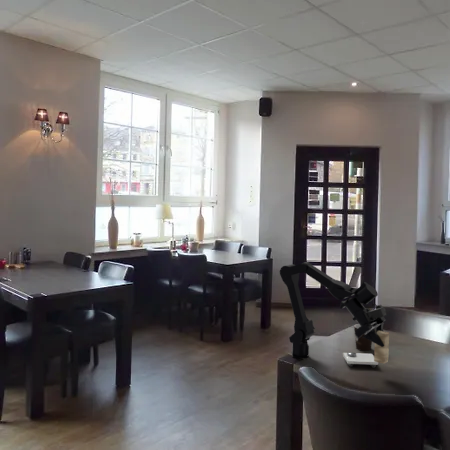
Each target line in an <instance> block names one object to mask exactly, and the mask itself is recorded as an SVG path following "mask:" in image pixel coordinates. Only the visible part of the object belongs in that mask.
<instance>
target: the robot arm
mask: <svg viewBox="0 0 450 450" xmlns="http://www.w3.org/2000/svg"><path fill="white" fill-rule="evenodd" d="M301 273H304V274H306V275H307V276H309V277H310V278H312V279H313V280H314V281H316V282H318V283H319V284H320V285H322V287H323V286H324V287H325V288H326V289H327V291H328V292H329V294H330V295H332V296H333V298H335V300H338V301H340V300H341V301H340V306H339V308H340V310H342V309H344V308H346V310H347V311H348V312H349V313H350V315H352V317H353V318H352V320H353V321H356V322H357V323H358V324H360V326H361V327H359V328H358V329H357V330H355V331H354V336H355V335H356V337H357V338H359V337H361V336H362V335H363V334H365V335H364V336H363V338H366V339H368V340H370V341H372V343H374V344H375V343H376V344H377V345H379V346H381V347H383V346H384V344H383V342H382V340H381V339H380V337H379V336H378V334H377V331H383V332H385V331H384V329H383V328H384V324H385V323H384V322H385V321H387V319H386V318H385V316H387V312H386V311H387V309H386V308H385V307H384V306H383V305H381V304H378V305H376V306H375V308H374V309H372V310H370V308H369V307H365V306H364V305H368V304H369V303H370V302H372V301H373V300H374V299H375V298H377V296H378V295H379V294H378V291H377V290H376V288H374V287H373V286H372V285H370V284H369V283H367V282H366V281H365V282H363V283H362V284H361V285H360V286H359V287H357V288H355V287H351V285H349V284H348V283H346V282H344V281H341V280H338V279H334V278H333V277H331V276H330V275H328V274H327V273H325V272H324V271H322V270H321V269H319V268H317V267H316V266H314V265H313V264H312V263H311V262H310V261H306V262H302V263H300V264H296V265H295V264H293V263H291V264H287V265H283V266H281V268H280V270H279V276H280V278H281V280H282V282H283V284H285V286H286V287H287V291H288V296H289V299H290V303H291V307H292V308H291V309H292V312H293V316H294V325H293V331H294V332H293V334H292V335H290V336H289V338H288V339H289V342H290V343H291V352H290V353H291V357H292V358H300V359H302V358H304V359H305V358H306V359H308V357H309V352H310V350H309V349H310V345H309V344H308V341H310V340H311V337H312V336H313V334H314V332H315V329H316V328H315V327H314V323H313V320H312V319H310V320H309V318H308V317H307V315H306V312H305V307H304V302H303V297H302V295H301V290H300V287H299V281H300V274H301ZM344 299H346V300H344Z"/></svg>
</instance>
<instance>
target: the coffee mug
mask: <svg viewBox="0 0 450 450" xmlns="http://www.w3.org/2000/svg"><path fill="white" fill-rule="evenodd" d="M353 327H354V332H355V330H357V329H358V328H359V327H361V326H360V324H359V323H358V324H354V326H353ZM364 335H365V334H363V335H362V336H361V337H359V338H357V337H356V335H355V334H354V338H355V349H356V350H359V351H362V352H369V351H371V350H372V344H373V342H372V341H370V340H368V339H366V338H363V336H364Z"/></svg>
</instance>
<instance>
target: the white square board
mask: <svg viewBox="0 0 450 450" xmlns="http://www.w3.org/2000/svg"><path fill="white" fill-rule="evenodd" d="M347 353H348V352H342V356H343V358H344V359H345V362H346V363H347V365H348V367H350V368H351V367H352V368H353V366H354V365H370V366H371V367H372V368H373V369H374V368H376V366H378V365H379V362H375V361H374V355H373V353H360V352H357V353H356V352H355V353H356V357H350V356H348V355H347Z"/></svg>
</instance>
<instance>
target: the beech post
mask: <svg viewBox="0 0 450 450" xmlns="http://www.w3.org/2000/svg"><path fill="white" fill-rule="evenodd" d="M383 331H384V330H383ZM383 331H377V334H378V336H379V337H380V339H381V340H382V342H383V344H384V346H383V347H381V346H379V345H377V344H376V343H374V355H373V356H374V361H375V362H378V364H379V363H380V364H384V365H385V364H386V363H388V361H389V353H390V351H389V349H390V332H387V331H384V332H383Z"/></svg>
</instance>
